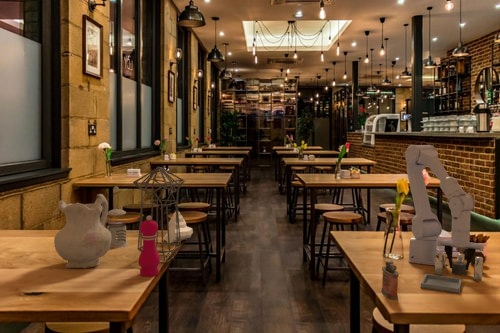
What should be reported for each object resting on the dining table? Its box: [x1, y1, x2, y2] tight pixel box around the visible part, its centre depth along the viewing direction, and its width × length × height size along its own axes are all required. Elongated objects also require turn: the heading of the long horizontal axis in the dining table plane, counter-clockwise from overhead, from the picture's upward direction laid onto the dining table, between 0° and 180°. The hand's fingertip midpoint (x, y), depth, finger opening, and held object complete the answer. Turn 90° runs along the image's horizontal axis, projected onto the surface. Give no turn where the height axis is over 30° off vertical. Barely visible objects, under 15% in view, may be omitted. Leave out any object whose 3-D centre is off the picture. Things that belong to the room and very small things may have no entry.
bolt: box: [461, 249, 486, 266], centre depth 177 cm, size 6×5×15 cm
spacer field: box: [434, 251, 484, 282], centre depth 160 cm, size 14×15×5 cm
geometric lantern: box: [132, 166, 186, 264], centre depth 173 cm, size 16×16×35 cm
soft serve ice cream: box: [163, 210, 194, 243], centre depth 205 cm, size 12×15×14 cm
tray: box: [420, 273, 462, 295], centre depth 147 cm, size 11×11×2 cm
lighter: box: [381, 260, 399, 301], centre depth 137 cm, size 8×3×10 cm, turn 5°
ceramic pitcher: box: [53, 193, 112, 269], centre depth 168 cm, size 22×20×25 cm
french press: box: [104, 186, 129, 249], centre depth 194 cm, size 10×12×25 cm
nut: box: [451, 260, 467, 276], centre depth 160 cm, size 4×5×4 cm
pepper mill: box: [138, 215, 161, 278], centre depth 156 cm, size 7×7×20 cm
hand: (459, 268), depth 160 cm, fingers closed on nut, 4 cm apart
